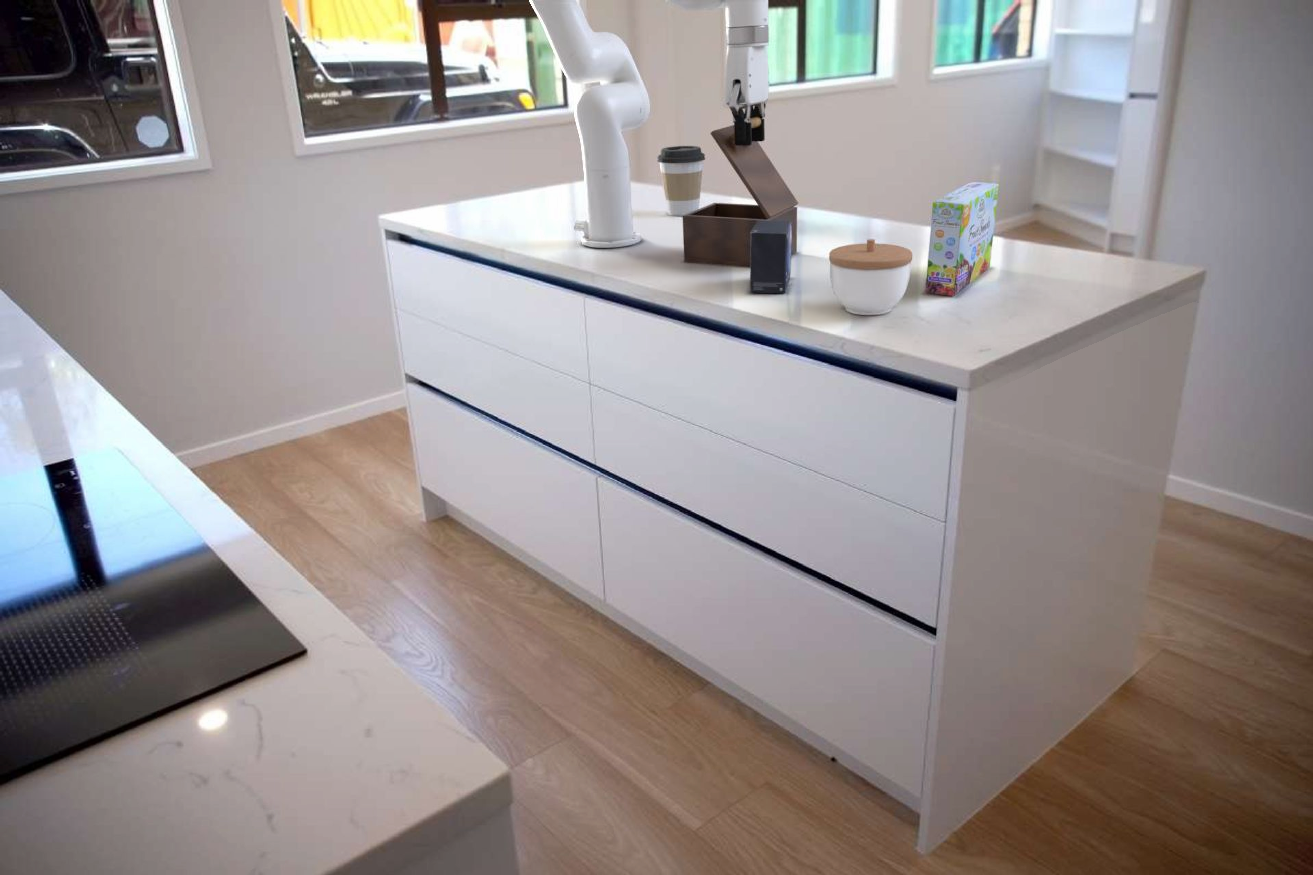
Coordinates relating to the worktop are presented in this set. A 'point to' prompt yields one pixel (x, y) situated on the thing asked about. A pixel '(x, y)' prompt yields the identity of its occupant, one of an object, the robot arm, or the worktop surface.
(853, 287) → the lidded bowl
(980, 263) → the snack box
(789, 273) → the small box
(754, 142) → the lid
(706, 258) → the chest
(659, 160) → the coffee cup
